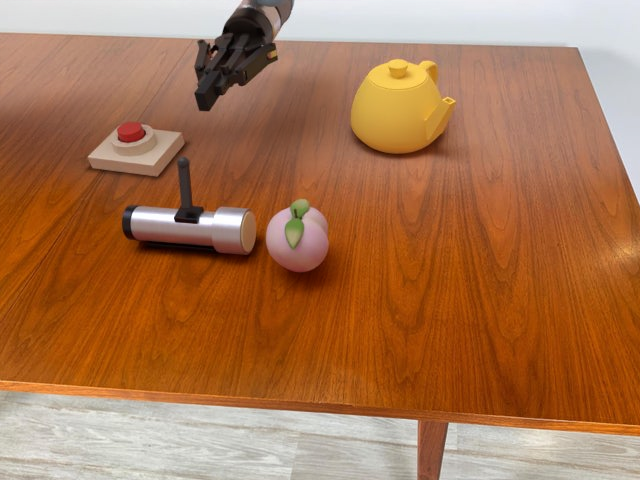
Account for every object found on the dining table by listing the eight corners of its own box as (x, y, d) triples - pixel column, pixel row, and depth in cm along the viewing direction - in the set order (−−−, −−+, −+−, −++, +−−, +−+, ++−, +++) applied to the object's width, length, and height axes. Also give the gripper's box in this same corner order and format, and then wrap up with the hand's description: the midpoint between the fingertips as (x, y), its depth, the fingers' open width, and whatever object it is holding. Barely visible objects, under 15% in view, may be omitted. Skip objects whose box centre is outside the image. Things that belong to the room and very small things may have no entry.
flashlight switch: (178, 208, 78) (174, 157, 76) (184, 205, 80) (179, 155, 77) (190, 209, 78) (185, 158, 76) (195, 206, 80) (191, 156, 77)
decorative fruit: (273, 245, 83) (261, 189, 76) (330, 240, 84) (323, 184, 76) (271, 293, 77) (257, 236, 69) (333, 287, 77) (326, 231, 70)
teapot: (332, 133, 103) (325, 64, 94) (404, 94, 112) (404, 27, 103) (416, 179, 93) (418, 106, 84) (487, 132, 103) (496, 62, 93)
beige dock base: (92, 168, 97) (82, 147, 94) (123, 136, 104) (115, 116, 101) (157, 176, 95) (149, 156, 92) (184, 143, 102) (178, 123, 99)
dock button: (115, 142, 96) (111, 133, 95) (128, 129, 99) (124, 120, 97) (137, 145, 95) (134, 135, 94) (149, 132, 98) (146, 123, 97)
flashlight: (129, 254, 82) (113, 219, 78) (148, 225, 87) (133, 190, 82) (247, 264, 81) (237, 229, 76) (260, 234, 85) (252, 199, 80)
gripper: (293, 53, 98) (252, 129, 82) (219, 50, 100) (165, 123, 84) (286, 7, 93) (241, 78, 77) (208, 5, 94) (148, 74, 78)
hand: (201, 102), depth 80 cm, fingers closed
